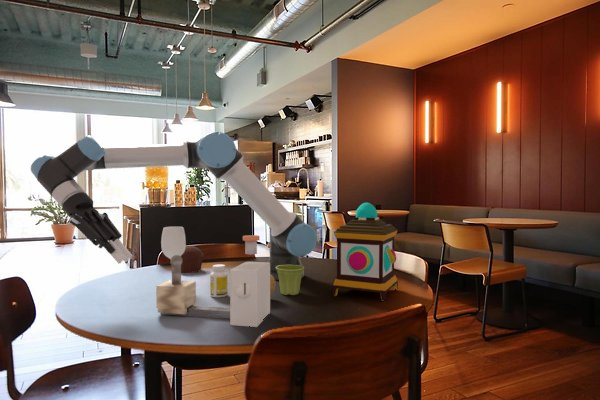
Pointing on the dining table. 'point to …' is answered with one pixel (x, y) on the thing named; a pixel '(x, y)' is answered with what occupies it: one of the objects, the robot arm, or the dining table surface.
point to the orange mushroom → (250, 244)
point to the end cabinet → (249, 293)
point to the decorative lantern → (366, 253)
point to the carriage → (175, 291)
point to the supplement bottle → (218, 281)
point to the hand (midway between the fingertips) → (125, 259)
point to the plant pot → (289, 278)
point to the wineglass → (173, 241)
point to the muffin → (191, 260)
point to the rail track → (206, 312)
